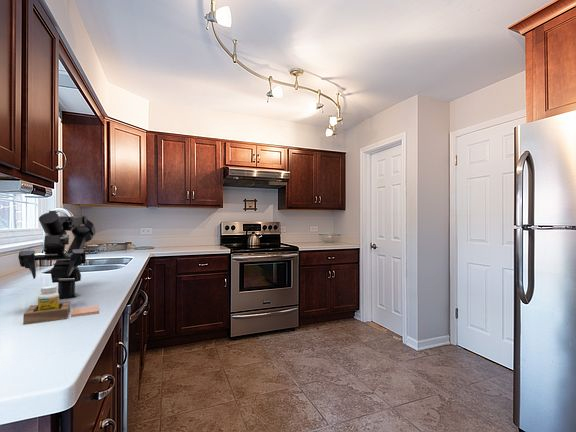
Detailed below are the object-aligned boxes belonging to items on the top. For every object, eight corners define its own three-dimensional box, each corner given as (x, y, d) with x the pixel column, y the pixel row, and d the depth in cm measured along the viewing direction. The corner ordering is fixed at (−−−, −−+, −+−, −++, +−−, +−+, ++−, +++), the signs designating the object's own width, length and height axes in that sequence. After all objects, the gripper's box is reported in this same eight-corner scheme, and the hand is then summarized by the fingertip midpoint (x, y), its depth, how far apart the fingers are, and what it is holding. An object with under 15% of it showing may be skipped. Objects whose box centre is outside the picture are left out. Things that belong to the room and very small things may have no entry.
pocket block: (30, 314, 100) (30, 305, 100) (70, 310, 106) (70, 301, 106) (23, 324, 91) (23, 314, 91) (67, 318, 96) (67, 309, 97)
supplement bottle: (59, 313, 102) (60, 284, 102) (58, 317, 98) (58, 287, 98) (38, 316, 99) (39, 286, 99) (36, 320, 95) (37, 289, 95)
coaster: (72, 311, 105) (72, 308, 105) (98, 307, 109) (98, 305, 109) (71, 316, 98) (71, 314, 98) (98, 313, 102) (98, 310, 102)
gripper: (20, 227, 104) (11, 263, 94) (86, 227, 114) (84, 260, 104) (24, 248, 110) (16, 284, 101) (86, 246, 120) (84, 279, 110)
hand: (51, 276), depth 104 cm, fingers open, 9 cm apart
